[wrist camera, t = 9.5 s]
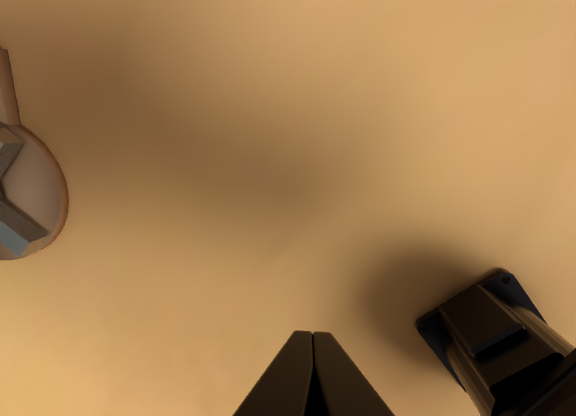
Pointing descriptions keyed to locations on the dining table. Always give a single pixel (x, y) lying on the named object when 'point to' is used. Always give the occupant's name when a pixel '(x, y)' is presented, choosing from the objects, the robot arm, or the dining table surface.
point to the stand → (30, 173)
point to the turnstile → (4, 220)
